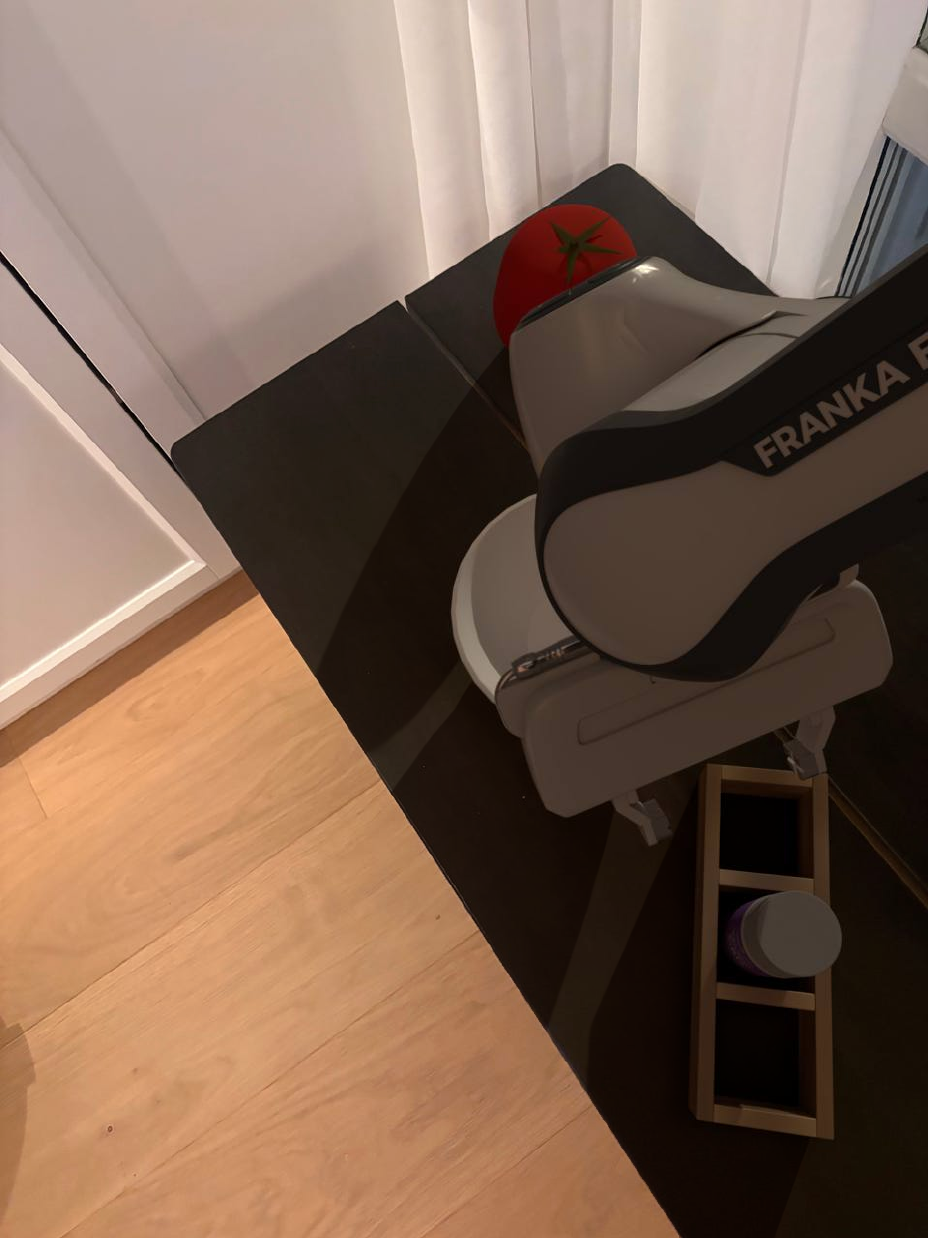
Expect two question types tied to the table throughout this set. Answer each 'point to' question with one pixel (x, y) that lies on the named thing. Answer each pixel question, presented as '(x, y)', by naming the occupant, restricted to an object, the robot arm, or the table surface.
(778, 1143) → the table surface
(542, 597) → the bowl
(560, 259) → the tomato
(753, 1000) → the rack
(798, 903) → the container
